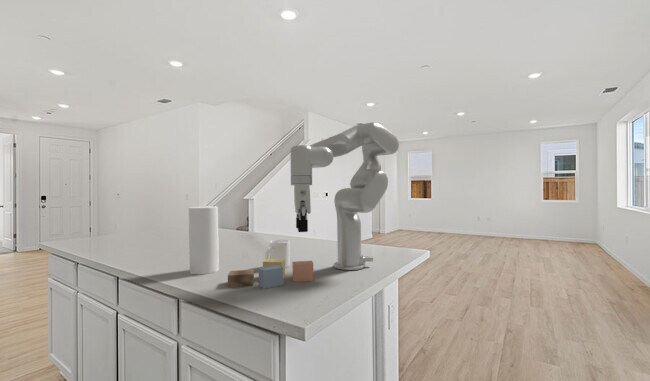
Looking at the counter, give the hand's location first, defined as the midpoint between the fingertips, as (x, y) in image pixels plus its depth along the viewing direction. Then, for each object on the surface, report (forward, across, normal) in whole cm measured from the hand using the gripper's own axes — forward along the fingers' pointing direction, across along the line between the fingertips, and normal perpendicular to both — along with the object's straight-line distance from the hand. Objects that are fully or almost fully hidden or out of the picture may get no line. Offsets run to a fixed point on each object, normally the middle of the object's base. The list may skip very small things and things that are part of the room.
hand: (301, 230), depth 114 cm
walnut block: (+18, -1, +21) cm, 27 cm away
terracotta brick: (+18, 0, 0) cm, 18 cm away
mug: (+18, +19, +9) cm, 27 cm away
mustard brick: (+18, +5, +10) cm, 21 cm away
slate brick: (+18, -5, +11) cm, 21 cm away
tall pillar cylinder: (+18, +19, +37) cm, 45 cm away
